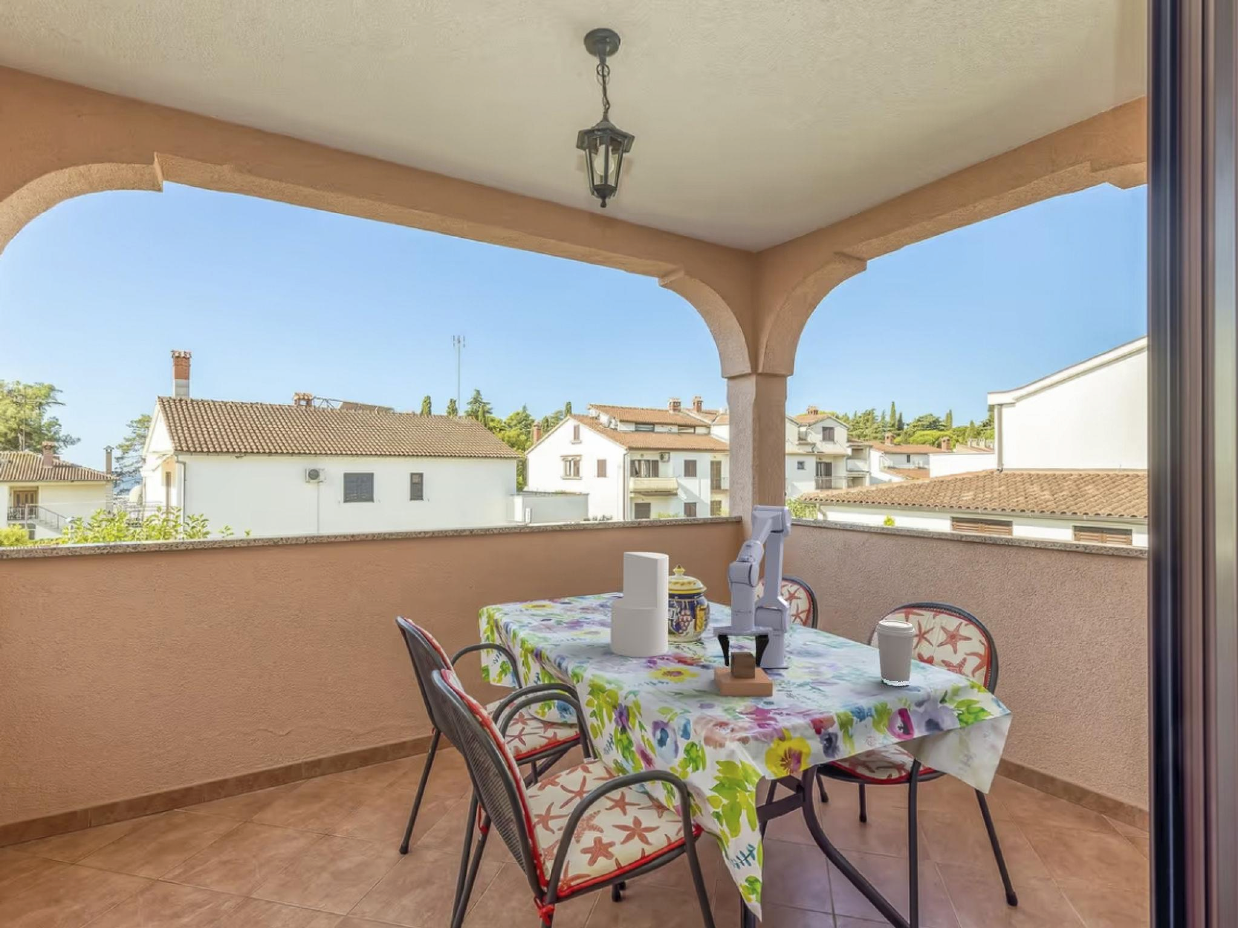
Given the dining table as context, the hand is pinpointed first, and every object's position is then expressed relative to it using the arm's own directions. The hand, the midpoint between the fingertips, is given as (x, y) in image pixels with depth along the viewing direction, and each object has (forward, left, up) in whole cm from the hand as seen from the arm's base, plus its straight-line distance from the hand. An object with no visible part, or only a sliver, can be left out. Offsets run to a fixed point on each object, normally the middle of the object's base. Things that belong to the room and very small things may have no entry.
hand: (742, 665), depth 159 cm
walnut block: (0, 0, -2) cm, 2 cm away
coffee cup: (-4, +40, -6) cm, 41 cm away
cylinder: (-34, -24, -6) cm, 42 cm away
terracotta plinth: (0, 0, -5) cm, 5 cm away
